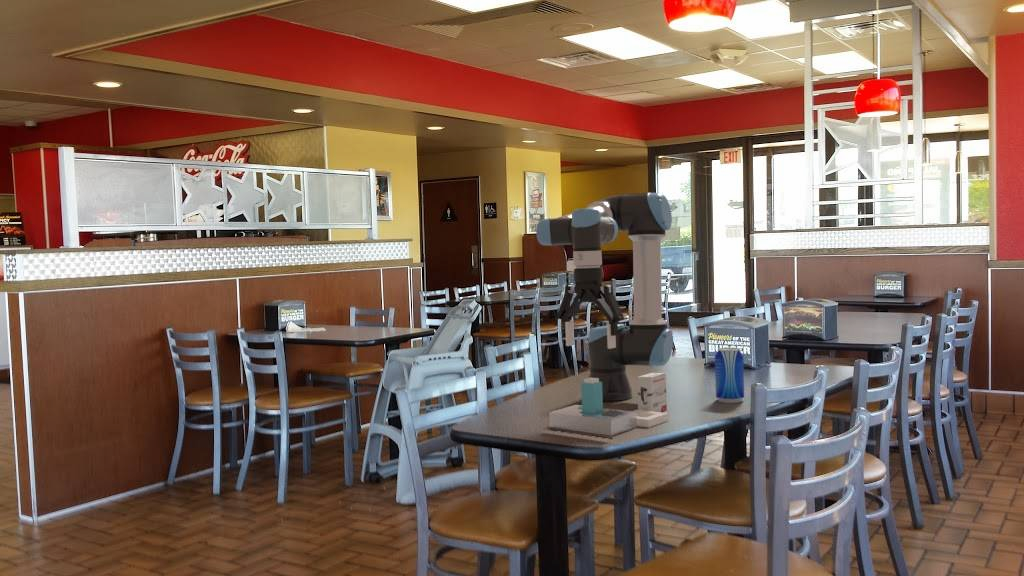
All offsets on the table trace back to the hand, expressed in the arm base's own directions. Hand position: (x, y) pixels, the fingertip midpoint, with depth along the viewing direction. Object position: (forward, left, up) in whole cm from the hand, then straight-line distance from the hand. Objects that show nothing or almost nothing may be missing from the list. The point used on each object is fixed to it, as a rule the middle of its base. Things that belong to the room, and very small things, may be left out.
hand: (590, 346), depth 232 cm
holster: (+8, +12, -23) cm, 27 cm away
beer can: (+12, +55, -23) cm, 61 cm away
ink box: (+3, +25, -23) cm, 34 cm away
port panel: (0, 0, -23) cm, 23 cm away
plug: (0, 0, -22) cm, 22 cm away
